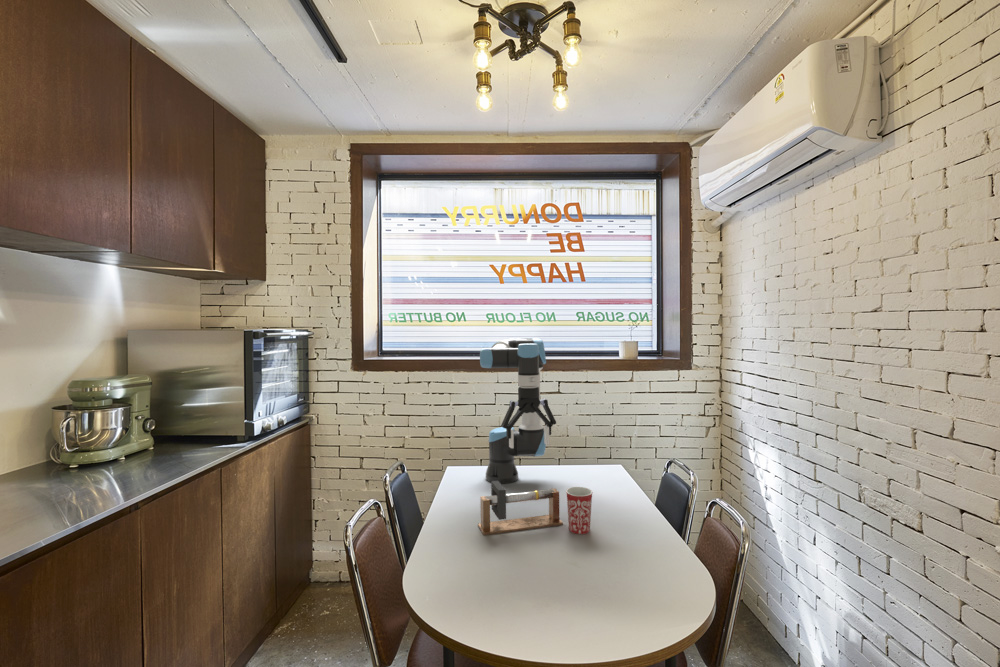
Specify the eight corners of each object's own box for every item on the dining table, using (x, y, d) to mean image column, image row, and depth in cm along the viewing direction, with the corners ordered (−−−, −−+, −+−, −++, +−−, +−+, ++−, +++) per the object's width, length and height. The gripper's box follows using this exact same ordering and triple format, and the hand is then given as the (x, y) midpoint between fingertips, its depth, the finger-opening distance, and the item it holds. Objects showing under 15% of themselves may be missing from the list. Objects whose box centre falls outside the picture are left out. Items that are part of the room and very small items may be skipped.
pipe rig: (483, 535, 161) (483, 501, 160) (478, 525, 168) (477, 493, 168) (563, 524, 168) (562, 492, 168) (554, 516, 176) (554, 484, 176)
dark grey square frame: (499, 519, 161) (498, 490, 161) (491, 509, 171) (491, 481, 170) (506, 518, 162) (505, 489, 161) (498, 508, 171) (497, 480, 171)
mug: (593, 536, 159) (593, 496, 159) (566, 534, 160) (565, 495, 160) (592, 521, 171) (591, 483, 171) (566, 519, 173) (566, 482, 173)
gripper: (498, 389, 163) (499, 451, 163) (564, 386, 170) (565, 445, 171) (492, 387, 170) (492, 446, 170) (556, 383, 178) (556, 440, 178)
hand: (529, 445), depth 170 cm, fingers open, 13 cm apart
